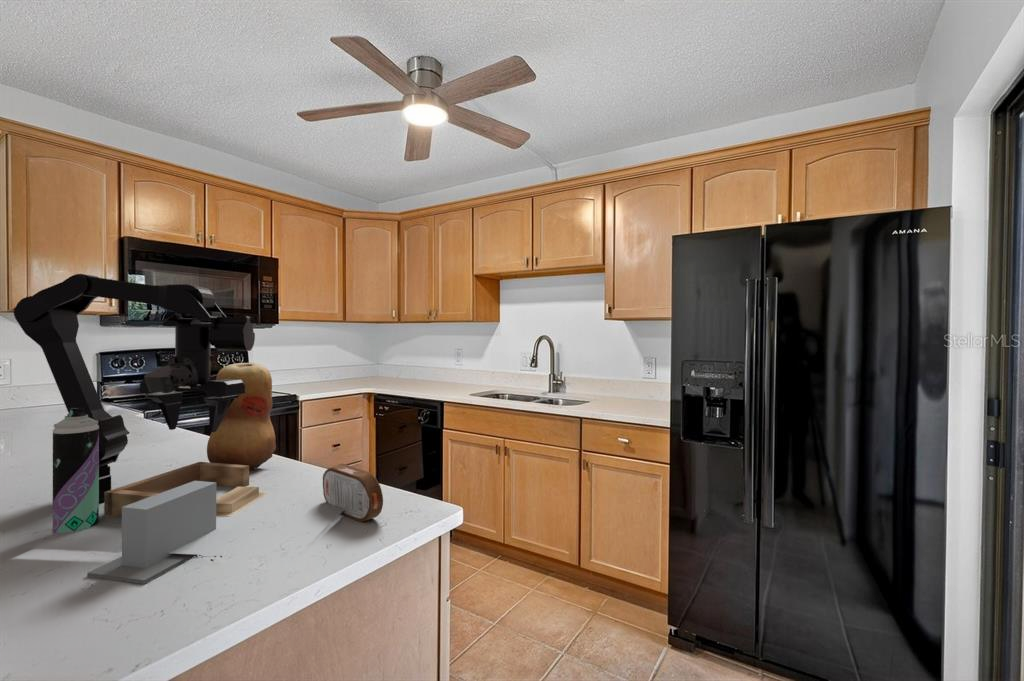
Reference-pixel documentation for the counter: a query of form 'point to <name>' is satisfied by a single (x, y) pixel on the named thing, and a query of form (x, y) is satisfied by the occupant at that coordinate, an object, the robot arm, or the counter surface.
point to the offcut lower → (241, 507)
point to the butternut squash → (245, 420)
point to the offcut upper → (235, 499)
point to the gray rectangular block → (167, 522)
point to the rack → (174, 483)
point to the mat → (138, 569)
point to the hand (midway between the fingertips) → (192, 430)
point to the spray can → (75, 472)
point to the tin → (353, 492)
